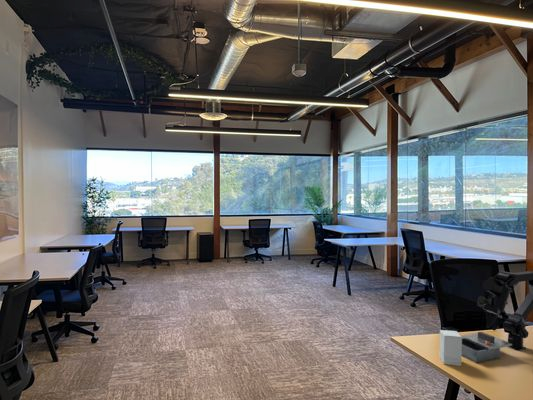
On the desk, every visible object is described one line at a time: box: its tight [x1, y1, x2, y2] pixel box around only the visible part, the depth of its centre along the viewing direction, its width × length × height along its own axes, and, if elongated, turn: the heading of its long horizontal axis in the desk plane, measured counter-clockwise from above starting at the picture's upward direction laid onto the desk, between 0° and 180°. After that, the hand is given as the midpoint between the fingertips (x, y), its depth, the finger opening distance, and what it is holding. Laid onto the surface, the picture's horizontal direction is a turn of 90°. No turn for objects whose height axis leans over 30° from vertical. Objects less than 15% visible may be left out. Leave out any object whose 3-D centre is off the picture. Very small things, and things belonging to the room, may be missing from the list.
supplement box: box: [438, 329, 463, 367], centre depth 161 cm, size 7×7×13 cm
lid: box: [461, 331, 512, 349], centre depth 171 cm, size 15×15×3 cm
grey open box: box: [462, 338, 501, 364], centre depth 169 cm, size 14×14×5 cm
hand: (490, 328), depth 172 cm, fingers open, 9 cm apart
